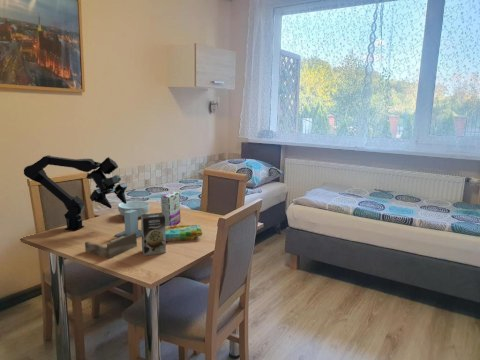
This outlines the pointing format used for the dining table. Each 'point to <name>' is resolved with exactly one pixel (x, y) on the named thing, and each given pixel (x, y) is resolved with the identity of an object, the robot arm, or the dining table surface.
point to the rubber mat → (126, 235)
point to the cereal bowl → (134, 207)
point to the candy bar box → (171, 208)
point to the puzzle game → (182, 232)
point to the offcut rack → (113, 246)
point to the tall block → (131, 222)
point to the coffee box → (153, 233)
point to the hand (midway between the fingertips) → (118, 205)
